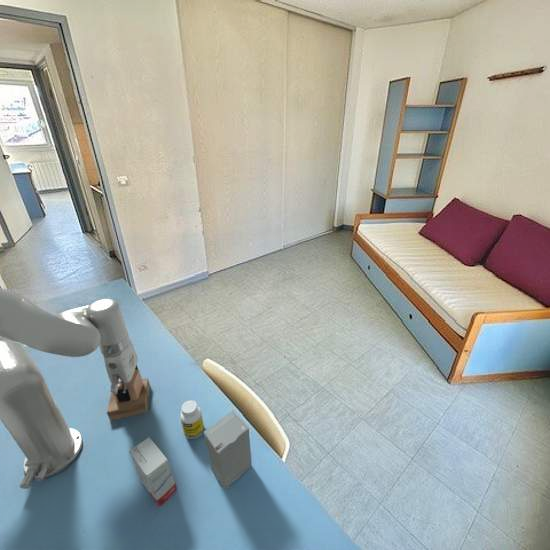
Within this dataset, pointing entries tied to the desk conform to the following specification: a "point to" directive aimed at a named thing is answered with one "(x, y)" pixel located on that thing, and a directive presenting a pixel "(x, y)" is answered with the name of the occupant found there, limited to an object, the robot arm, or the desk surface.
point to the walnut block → (130, 404)
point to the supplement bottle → (191, 419)
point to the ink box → (154, 470)
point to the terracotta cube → (133, 386)
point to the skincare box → (228, 448)
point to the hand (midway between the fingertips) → (129, 387)
